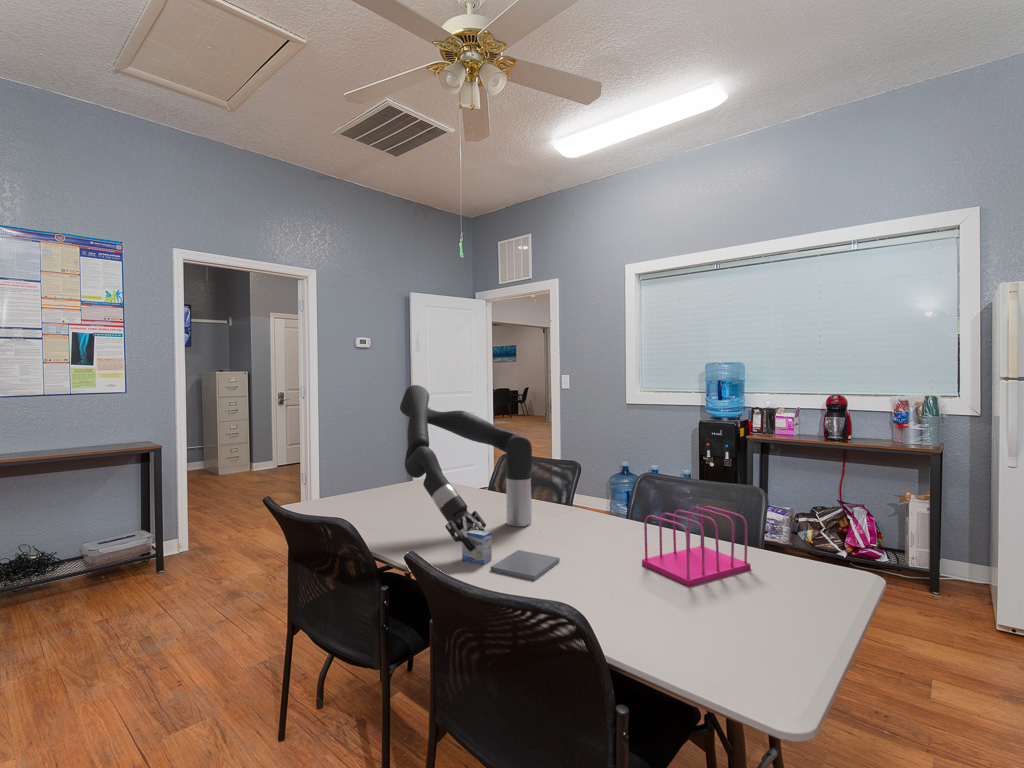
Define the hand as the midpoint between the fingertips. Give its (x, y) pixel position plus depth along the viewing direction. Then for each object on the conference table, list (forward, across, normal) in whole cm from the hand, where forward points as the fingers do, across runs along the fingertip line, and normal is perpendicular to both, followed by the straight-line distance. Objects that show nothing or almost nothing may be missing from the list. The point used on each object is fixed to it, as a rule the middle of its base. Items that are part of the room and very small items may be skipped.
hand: (480, 545), depth 149 cm
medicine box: (+2, 0, -4) cm, 5 cm away
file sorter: (+43, -26, +36) cm, 62 cm away
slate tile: (+13, -3, +6) cm, 15 cm away
